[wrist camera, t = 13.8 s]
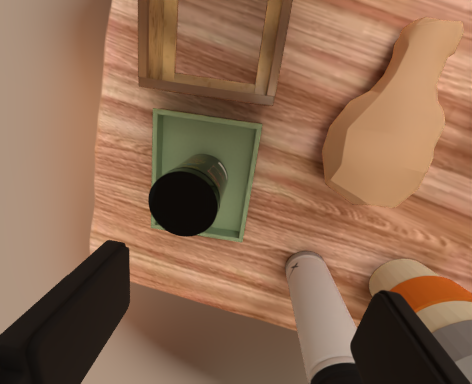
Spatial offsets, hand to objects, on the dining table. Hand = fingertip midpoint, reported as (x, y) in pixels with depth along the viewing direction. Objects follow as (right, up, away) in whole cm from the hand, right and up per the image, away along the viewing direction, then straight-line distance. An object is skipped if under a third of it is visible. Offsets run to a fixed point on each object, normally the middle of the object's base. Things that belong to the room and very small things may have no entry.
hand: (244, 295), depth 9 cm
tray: (-5, +6, +24) cm, 25 cm away
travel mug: (+10, -8, +28) cm, 30 cm away
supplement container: (-5, +6, +23) cm, 24 cm away
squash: (+17, +13, +20) cm, 29 cm away
